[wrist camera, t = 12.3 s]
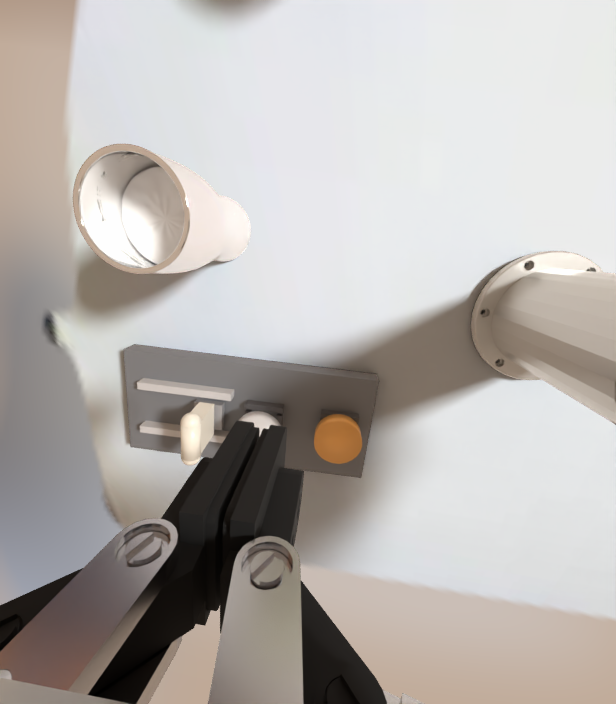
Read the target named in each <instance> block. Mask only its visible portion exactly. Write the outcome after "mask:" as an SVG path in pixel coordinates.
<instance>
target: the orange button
mask: <svg viewBox="0 0 616 704" xmlns="http://www.w3.org/2000/svg"><path fill="white" fill-rule="evenodd" d="M314 447H315V450H316V452H317V453H318V455H319V456H320V457H321V458H322V459H324V460H326V461H328V462H330V463H335V464H342V463H347V462H349V461H351V460H353V459H354V458H356V457H357V456H358V454H359V453H360V451H361V448H362V437H361V431H360V428H359V426H358V424H357V423H356V422H355V421H354V420H353V419H352V418H350V417H348V416H346V415H342V414H333V415H329V416H327V417H325V418H323V419H322V420H321V421H320V422H319V423H318V424H317V426H316V429H315V436H314Z"/></svg>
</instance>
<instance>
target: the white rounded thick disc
mask: <svg viewBox="0 0 616 704" xmlns="http://www.w3.org/2000/svg"><path fill="white" fill-rule="evenodd" d="M239 421H246V422H253V423H254V427H257V428H259V430H260V433H259V437H260V435H261V432H262V430H263V429H264V428H265V429H269V427H270V425H276V426H281V425H280V423H279V422H278V420H277V419H276V418H275V417H273V416H272V415H270V414H268V413H265V412H261V411H253V412H249V413H247V414H245V415H243V416H242V417H241V418H240V419H239Z"/></svg>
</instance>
